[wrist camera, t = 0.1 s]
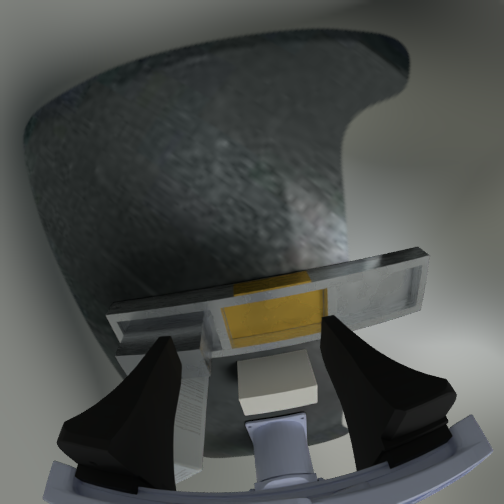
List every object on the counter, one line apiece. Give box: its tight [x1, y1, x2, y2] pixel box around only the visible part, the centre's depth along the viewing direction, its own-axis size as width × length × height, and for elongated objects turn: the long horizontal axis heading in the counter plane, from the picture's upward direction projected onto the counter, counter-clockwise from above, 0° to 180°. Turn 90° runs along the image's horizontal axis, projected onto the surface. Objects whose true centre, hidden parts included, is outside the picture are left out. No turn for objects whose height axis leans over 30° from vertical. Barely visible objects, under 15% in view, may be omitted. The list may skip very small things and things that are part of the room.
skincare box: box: [174, 376, 209, 484], centre depth 21 cm, size 6×4×12 cm
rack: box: [106, 247, 430, 379], centre depth 21 cm, size 6×29×6 cm, turn 100°
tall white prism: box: [237, 349, 317, 415], centre depth 25 cm, size 3×7×5 cm, turn 100°
